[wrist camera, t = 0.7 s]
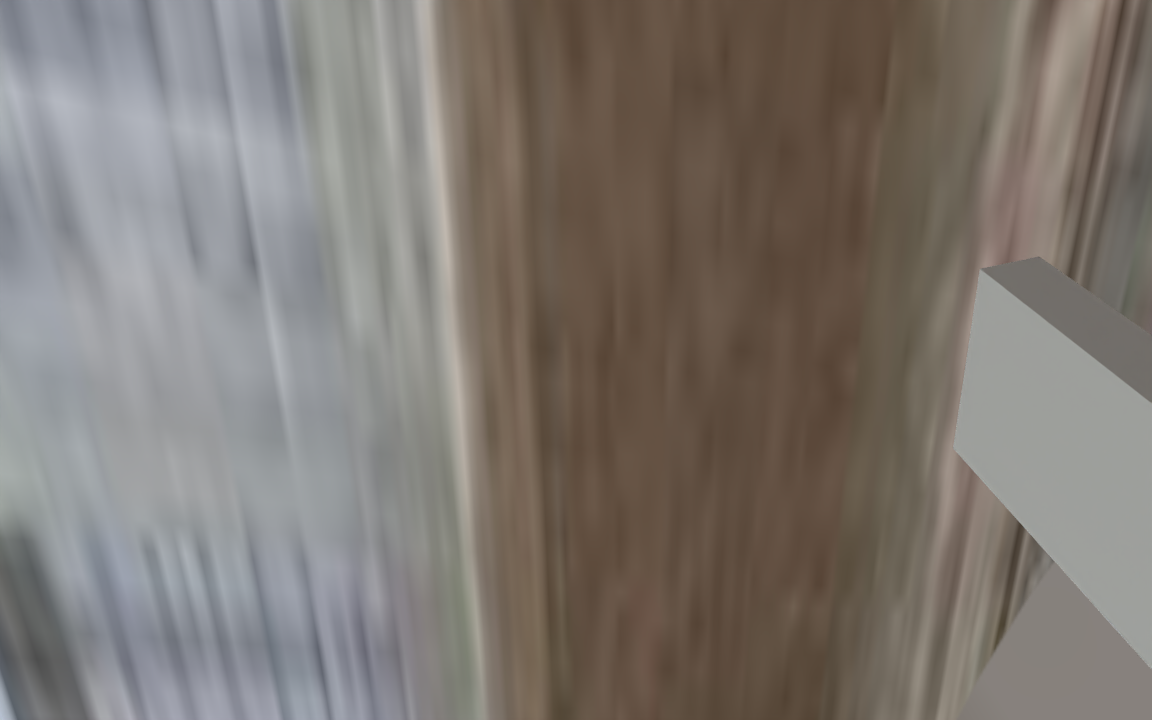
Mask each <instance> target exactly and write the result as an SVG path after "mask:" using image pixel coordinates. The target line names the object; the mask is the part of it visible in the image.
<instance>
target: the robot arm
mask: <svg viewBox="0 0 1152 720" xmlns="http://www.w3.org/2000/svg"><path fill="white" fill-rule="evenodd" d="M953 449H954V450H955V451H956V452H957V453H958V454H959V455H960V456H961V457H962V459H963V460H964V461H965V462H966V463H967V464H968V465H969V466H970V468H971V469H972V470H973V471H974V472H975V473H976V474H977V475H978V476H979V478H980V479H981V480H982V481H983V482H984V483H985V484H986V485H987V486H988V488H989V489H990V490H991V491H992V492H993V493H994V494H995V495H996V496H997V498H998V499H999V500H1000V501H1001V502H1002V503H1003V504H1004V505H1005V507H1006V508H1007V509H1008V510H1009V511H1010V512H1011V513H1012V514H1013V515H1014V517H1015V518H1016V519H1017V520H1018V521H1019V522H1020V523H1021V524H1022V525H1023V527H1024V528H1025V529H1026V530H1027V531H1028V532H1029V533H1030V534H1031V536H1032V537H1033V538H1034V539H1035V540H1036V541H1037V542H1038V543H1039V544H1040V546H1041V547H1042V548H1043V549H1044V550H1045V551H1046V552H1047V553H1048V554H1049V556H1050V557H1051V558H1052V559H1053V560H1054V561H1055V562H1056V563H1057V564H1058V565H1059V567H1060V568H1061V569H1062V570H1063V571H1064V572H1065V573H1066V575H1067V576H1068V577H1069V578H1070V579H1071V580H1072V581H1073V582H1074V583H1075V585H1076V586H1077V587H1078V588H1079V589H1080V590H1081V591H1082V592H1083V593H1084V595H1085V596H1086V597H1087V598H1088V599H1089V600H1090V601H1091V602H1092V603H1093V605H1094V606H1095V607H1096V608H1097V609H1098V610H1099V611H1100V612H1101V614H1103V616H1104V617H1105V618H1106V619H1107V620H1108V621H1109V622H1110V623H1111V625H1112V626H1113V627H1114V628H1115V629H1116V630H1117V631H1118V632H1119V634H1120V635H1121V636H1122V637H1123V638H1124V639H1125V640H1126V641H1127V642H1128V644H1129V645H1130V646H1131V647H1132V648H1133V649H1134V650H1135V651H1136V652H1137V654H1138V655H1139V656H1140V657H1141V658H1142V659H1143V660H1144V661H1145V663H1146V664H1147V665H1148V666H1149V667H1150V668H1151V669H1152V335H1150V334H1149V333H1148V332H1146V331H1145V330H1143V329H1142V328H1140V327H1139V326H1138V325H1136V324H1135V323H1133V322H1132V321H1130V320H1129V319H1128V318H1126V317H1125V316H1123V315H1122V314H1120V313H1119V312H1118V311H1116V310H1115V309H1113V308H1112V307H1110V306H1109V305H1108V304H1106V303H1105V302H1103V301H1102V300H1100V299H1099V298H1098V297H1096V296H1095V295H1093V294H1092V293H1090V292H1089V291H1088V290H1086V289H1085V288H1083V287H1082V286H1080V285H1079V284H1078V283H1076V282H1075V281H1073V280H1072V279H1070V278H1069V277H1068V276H1066V275H1065V274H1063V273H1062V272H1060V271H1059V270H1058V269H1056V268H1055V267H1053V266H1052V265H1050V264H1049V263H1047V262H1046V261H1045V260H1043V259H1042V258H1040V257H1035V258H1030V259H1026V260H1021V261H1016V262H1011V263H1006V264H1001V265H997V266H992V267H987V268H982V269H980V273H979V280H978V287H977V293H976V300H975V307H974V313H973V320H972V327H971V333H970V340H969V347H968V353H967V360H966V367H965V373H964V380H963V387H962V393H961V400H960V407H959V413H958V420H957V427H956V433H955V440H954V447H953Z"/></svg>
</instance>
